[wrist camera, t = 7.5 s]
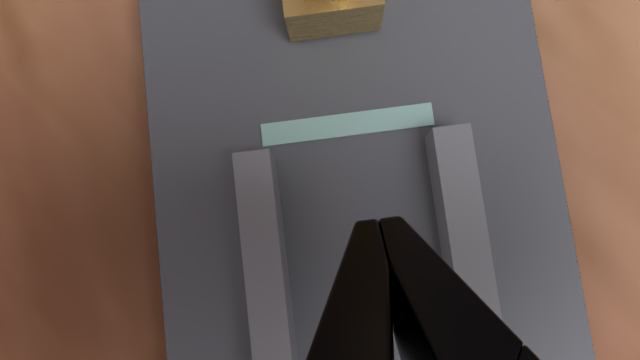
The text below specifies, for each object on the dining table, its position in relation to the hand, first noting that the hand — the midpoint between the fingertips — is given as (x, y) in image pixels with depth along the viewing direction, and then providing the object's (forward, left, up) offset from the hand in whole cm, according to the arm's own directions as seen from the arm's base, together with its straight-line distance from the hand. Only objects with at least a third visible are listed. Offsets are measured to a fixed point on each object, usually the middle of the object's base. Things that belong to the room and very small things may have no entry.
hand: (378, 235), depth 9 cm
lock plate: (+2, 0, -10) cm, 10 cm away
